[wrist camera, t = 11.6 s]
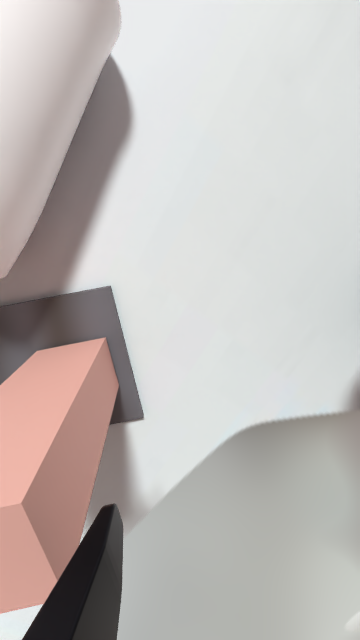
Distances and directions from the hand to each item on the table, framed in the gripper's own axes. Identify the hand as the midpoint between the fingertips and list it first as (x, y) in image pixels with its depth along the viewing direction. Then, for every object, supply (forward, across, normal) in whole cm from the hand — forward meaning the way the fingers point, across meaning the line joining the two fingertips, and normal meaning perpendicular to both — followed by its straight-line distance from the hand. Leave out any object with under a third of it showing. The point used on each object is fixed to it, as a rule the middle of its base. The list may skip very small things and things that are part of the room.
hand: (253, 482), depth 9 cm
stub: (+13, +9, 0) cm, 16 cm away
